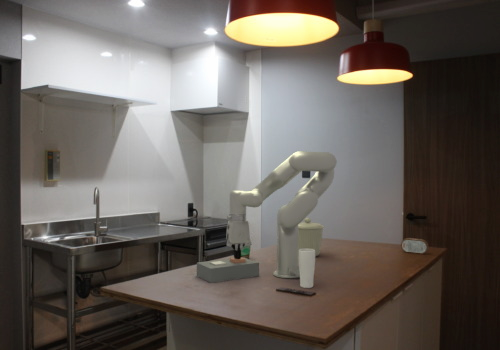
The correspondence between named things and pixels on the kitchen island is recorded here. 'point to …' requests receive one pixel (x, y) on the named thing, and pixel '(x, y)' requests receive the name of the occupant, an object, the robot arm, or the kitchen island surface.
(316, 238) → the canister
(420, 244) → the tin
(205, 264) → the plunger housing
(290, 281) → the kitchen island surface
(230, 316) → the kitchen island surface
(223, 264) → the cream cube block
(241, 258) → the terracotta brown block
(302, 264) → the drinking glass
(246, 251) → the food container
